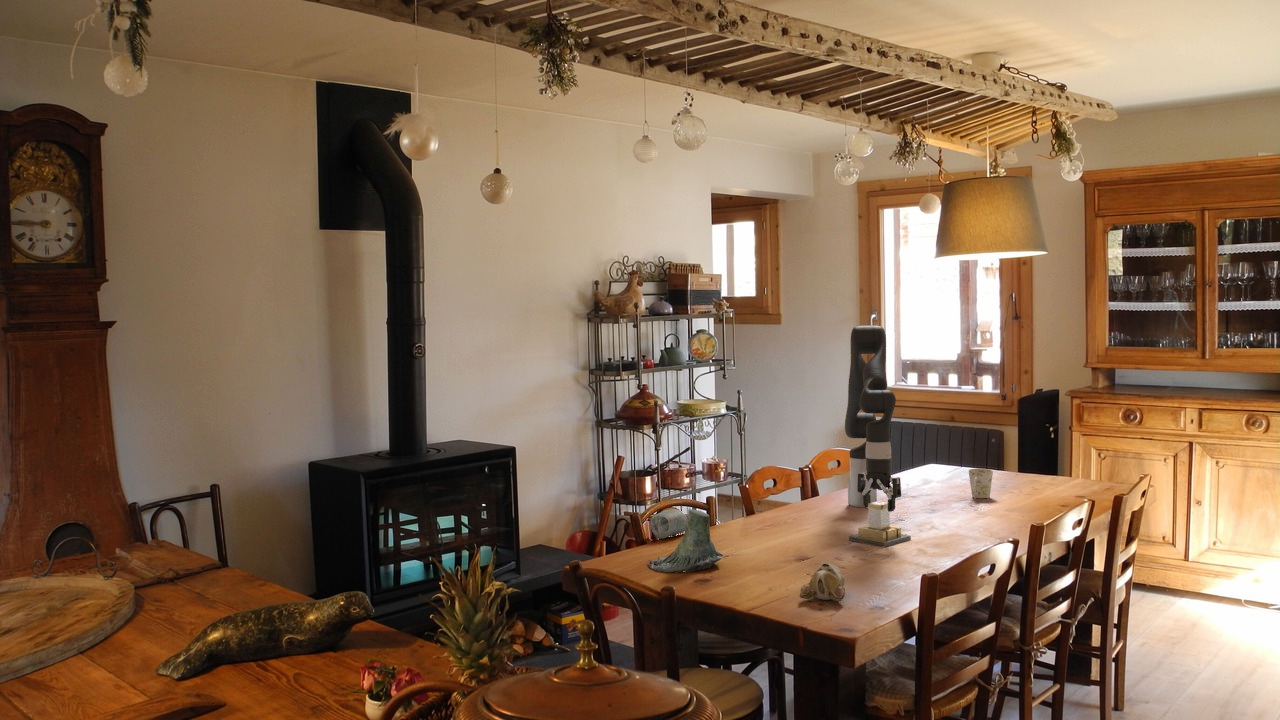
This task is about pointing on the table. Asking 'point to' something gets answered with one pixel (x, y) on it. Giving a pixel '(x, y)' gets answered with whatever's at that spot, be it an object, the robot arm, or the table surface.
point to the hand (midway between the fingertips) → (879, 509)
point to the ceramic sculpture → (825, 584)
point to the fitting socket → (880, 536)
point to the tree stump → (691, 547)
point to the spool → (668, 523)
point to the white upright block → (879, 516)
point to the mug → (980, 482)
